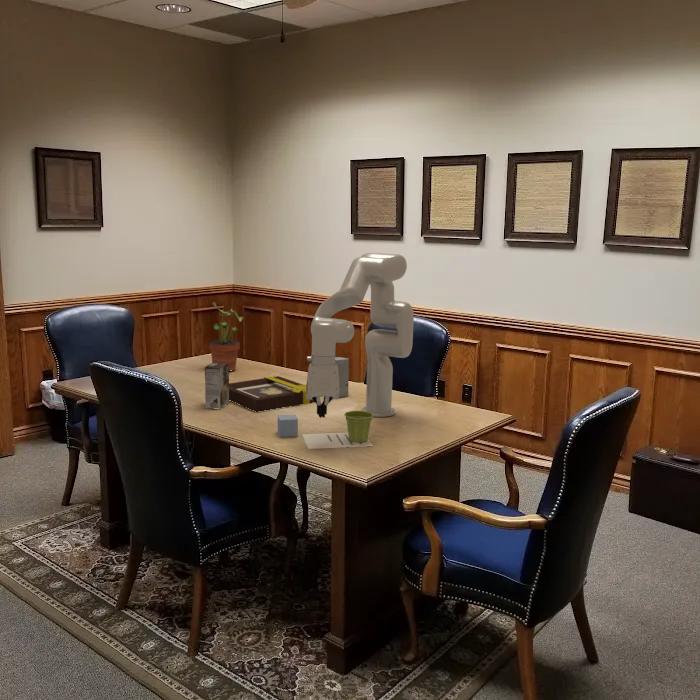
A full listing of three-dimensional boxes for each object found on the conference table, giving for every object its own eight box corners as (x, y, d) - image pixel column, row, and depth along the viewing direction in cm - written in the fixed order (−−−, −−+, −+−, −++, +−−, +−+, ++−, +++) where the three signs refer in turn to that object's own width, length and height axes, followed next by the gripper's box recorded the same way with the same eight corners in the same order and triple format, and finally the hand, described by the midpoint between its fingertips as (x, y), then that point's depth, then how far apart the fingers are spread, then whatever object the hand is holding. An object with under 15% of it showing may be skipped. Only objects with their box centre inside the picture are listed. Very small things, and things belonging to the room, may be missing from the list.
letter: (301, 435, 240) (301, 434, 240) (362, 432, 244) (362, 431, 244) (308, 449, 226) (308, 448, 226) (373, 446, 230) (373, 445, 230)
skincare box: (333, 399, 288) (334, 360, 285) (322, 395, 293) (323, 357, 290) (349, 396, 293) (350, 358, 290) (338, 392, 298) (339, 355, 296)
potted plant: (226, 375, 325) (226, 298, 318) (202, 371, 333) (201, 295, 326) (249, 370, 338) (249, 295, 331) (225, 365, 346) (225, 293, 339)
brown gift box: (278, 373, 304) (320, 387, 281) (278, 388, 305) (320, 403, 282) (218, 381, 287) (258, 397, 264) (219, 398, 288) (258, 414, 265)
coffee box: (214, 402, 278) (213, 361, 275) (229, 403, 277) (229, 362, 274) (204, 408, 270) (204, 366, 267) (220, 409, 268) (220, 367, 265)
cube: (277, 432, 243) (277, 415, 242) (295, 431, 244) (295, 414, 243) (279, 437, 237) (279, 420, 236) (297, 436, 238) (297, 419, 237)
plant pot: (344, 435, 240) (345, 410, 239) (372, 436, 240) (373, 410, 238) (343, 443, 231) (343, 417, 229) (372, 444, 231) (373, 418, 229)
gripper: (301, 362, 223) (300, 420, 226) (348, 362, 226) (346, 419, 229) (298, 358, 230) (296, 414, 233) (344, 358, 233) (342, 413, 236)
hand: (321, 416), depth 231 cm, fingers closed
